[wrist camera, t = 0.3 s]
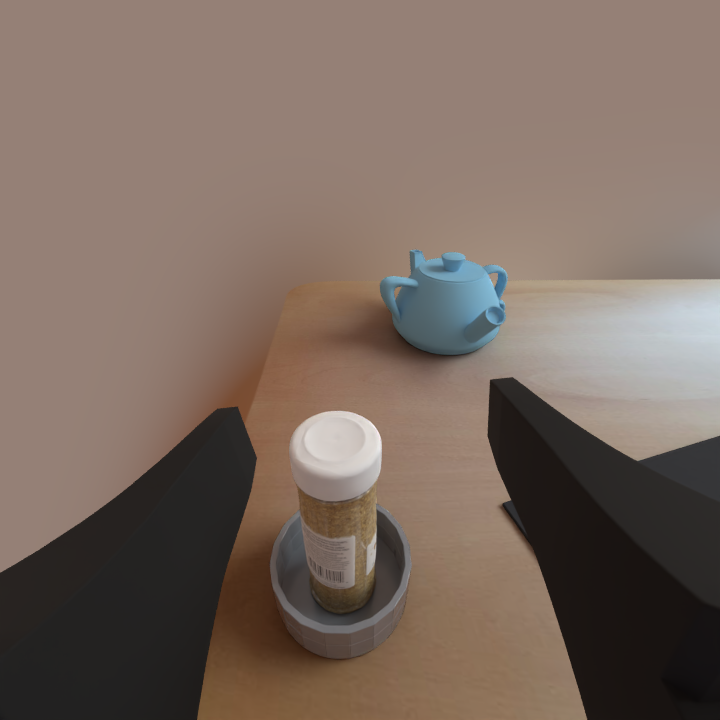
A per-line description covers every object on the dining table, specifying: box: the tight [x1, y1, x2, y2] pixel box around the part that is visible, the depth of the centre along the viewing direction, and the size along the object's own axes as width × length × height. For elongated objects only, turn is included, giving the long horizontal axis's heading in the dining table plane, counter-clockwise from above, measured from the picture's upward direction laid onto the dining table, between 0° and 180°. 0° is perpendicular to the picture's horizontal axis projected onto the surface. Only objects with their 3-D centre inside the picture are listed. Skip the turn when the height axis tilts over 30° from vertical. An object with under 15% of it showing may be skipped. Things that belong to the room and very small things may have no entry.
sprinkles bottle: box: [289, 411, 382, 614], centre depth 23 cm, size 5×5×13 cm
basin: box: [270, 504, 411, 659], centre depth 26 cm, size 9×9×4 cm
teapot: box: [380, 250, 508, 355], centre depth 51 cm, size 15×17×11 cm
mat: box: [503, 436, 720, 544], centre depth 31 cm, size 26×10×1 cm, turn 108°
